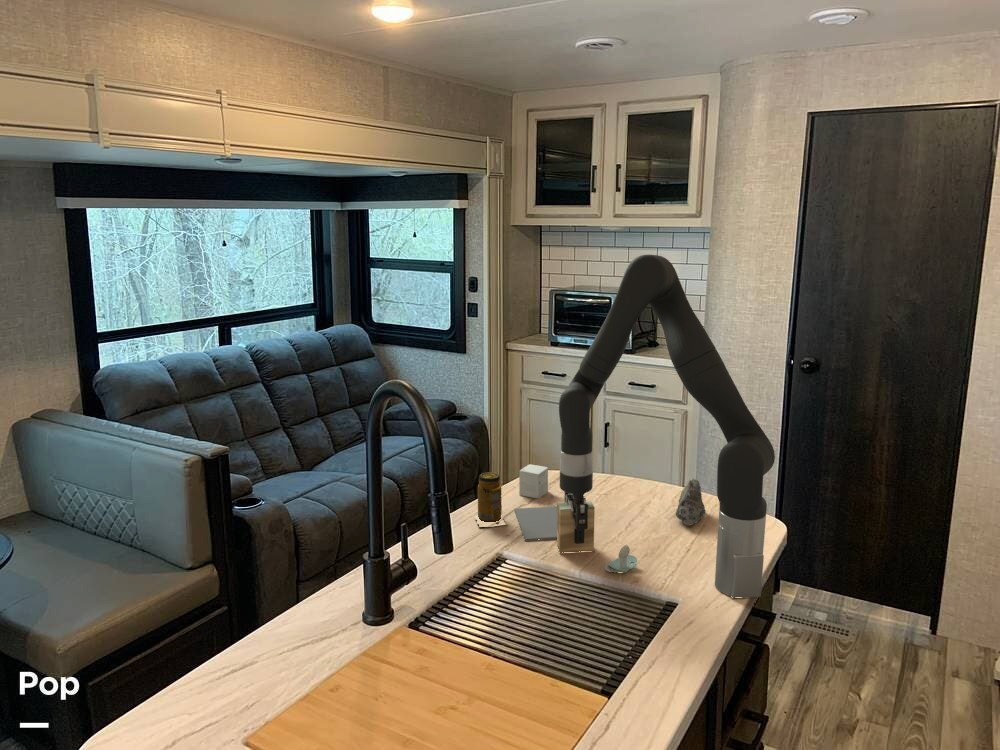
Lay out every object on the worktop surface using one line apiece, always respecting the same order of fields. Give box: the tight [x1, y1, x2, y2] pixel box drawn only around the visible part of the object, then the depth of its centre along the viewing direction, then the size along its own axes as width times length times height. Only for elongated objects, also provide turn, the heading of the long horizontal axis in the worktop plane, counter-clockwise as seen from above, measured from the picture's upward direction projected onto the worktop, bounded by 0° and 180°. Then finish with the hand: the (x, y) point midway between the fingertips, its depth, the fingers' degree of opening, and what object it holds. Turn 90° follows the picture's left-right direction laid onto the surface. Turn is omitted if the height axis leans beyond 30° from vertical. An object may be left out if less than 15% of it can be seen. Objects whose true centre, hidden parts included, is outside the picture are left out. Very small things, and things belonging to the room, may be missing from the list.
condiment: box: [477, 471, 503, 522], centre depth 194 cm, size 7×8×12 cm
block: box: [556, 501, 595, 554], centre depth 178 cm, size 4×8×11 cm, turn 97°
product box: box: [518, 463, 549, 499], centre depth 211 cm, size 6×6×7 cm
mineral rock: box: [675, 478, 706, 526], centre depth 194 cm, size 13×11×10 cm
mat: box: [513, 505, 557, 541], centre depth 193 cm, size 18×16×1 cm
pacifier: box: [604, 544, 638, 573], centre depth 169 cm, size 7×6×6 cm
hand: (575, 535), depth 178 cm, fingers open, 7 cm apart
